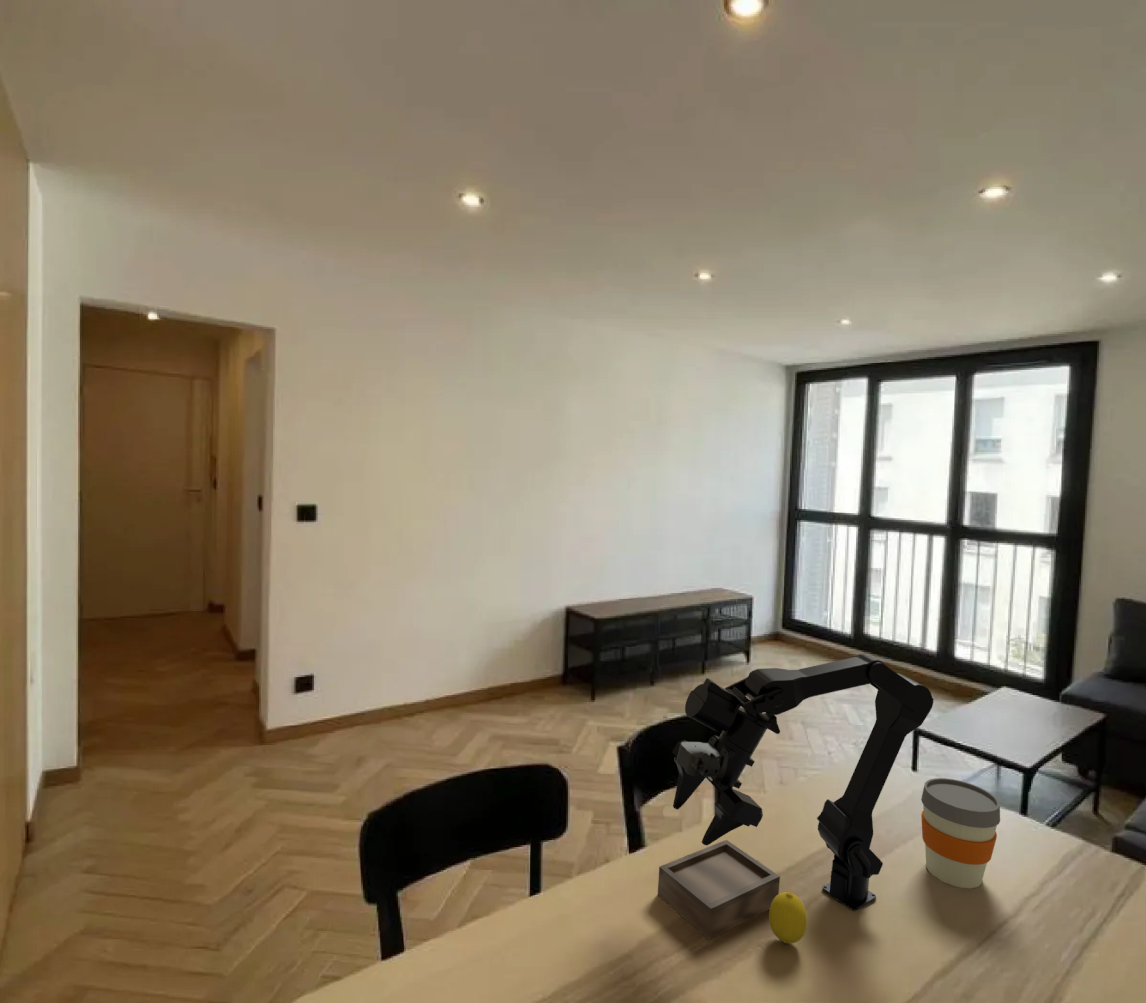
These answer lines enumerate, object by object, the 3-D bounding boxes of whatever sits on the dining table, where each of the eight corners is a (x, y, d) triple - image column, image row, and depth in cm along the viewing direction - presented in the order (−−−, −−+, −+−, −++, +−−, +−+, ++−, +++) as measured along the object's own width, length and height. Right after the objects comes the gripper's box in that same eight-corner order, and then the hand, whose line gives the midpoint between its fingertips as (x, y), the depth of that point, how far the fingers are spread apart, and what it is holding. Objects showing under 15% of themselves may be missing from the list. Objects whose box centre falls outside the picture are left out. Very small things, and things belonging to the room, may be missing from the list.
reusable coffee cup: (979, 904, 116) (987, 820, 115) (903, 868, 125) (911, 790, 124) (1003, 876, 124) (1011, 798, 123) (931, 844, 133) (938, 771, 132)
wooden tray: (724, 866, 123) (726, 839, 123) (777, 904, 113) (779, 876, 113) (657, 894, 114) (659, 866, 114) (708, 939, 104) (710, 908, 104)
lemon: (807, 959, 101) (811, 908, 101) (768, 952, 102) (772, 901, 102) (802, 933, 107) (806, 885, 106) (765, 927, 108) (769, 879, 107)
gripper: (673, 699, 116) (627, 778, 116) (735, 758, 99) (682, 851, 99) (719, 720, 120) (674, 797, 120) (786, 781, 103) (734, 870, 103)
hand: (689, 825), depth 111 cm, fingers open, 9 cm apart
